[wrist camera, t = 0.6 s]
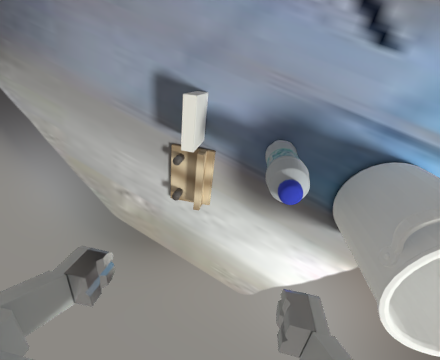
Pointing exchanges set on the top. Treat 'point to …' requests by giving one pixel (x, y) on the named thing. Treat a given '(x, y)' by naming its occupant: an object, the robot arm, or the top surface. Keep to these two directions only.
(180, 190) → the tan pegged board
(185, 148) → the white rectangular block
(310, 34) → the top surface
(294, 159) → the bottle
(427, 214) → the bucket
